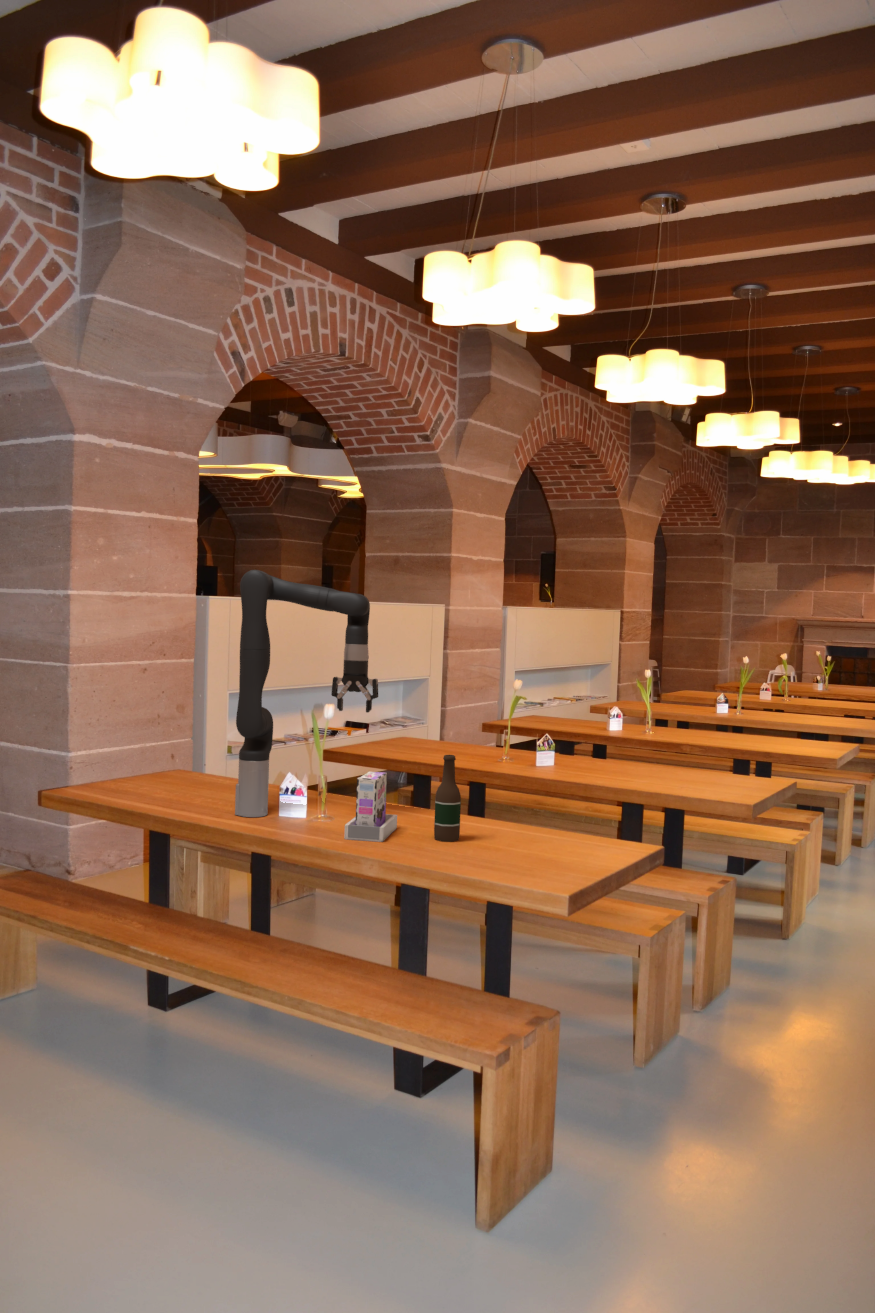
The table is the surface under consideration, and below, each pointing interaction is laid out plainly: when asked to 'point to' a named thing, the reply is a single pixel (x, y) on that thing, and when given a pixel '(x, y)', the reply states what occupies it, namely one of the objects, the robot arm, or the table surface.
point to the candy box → (371, 799)
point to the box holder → (370, 830)
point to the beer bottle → (447, 804)
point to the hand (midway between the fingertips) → (354, 711)
